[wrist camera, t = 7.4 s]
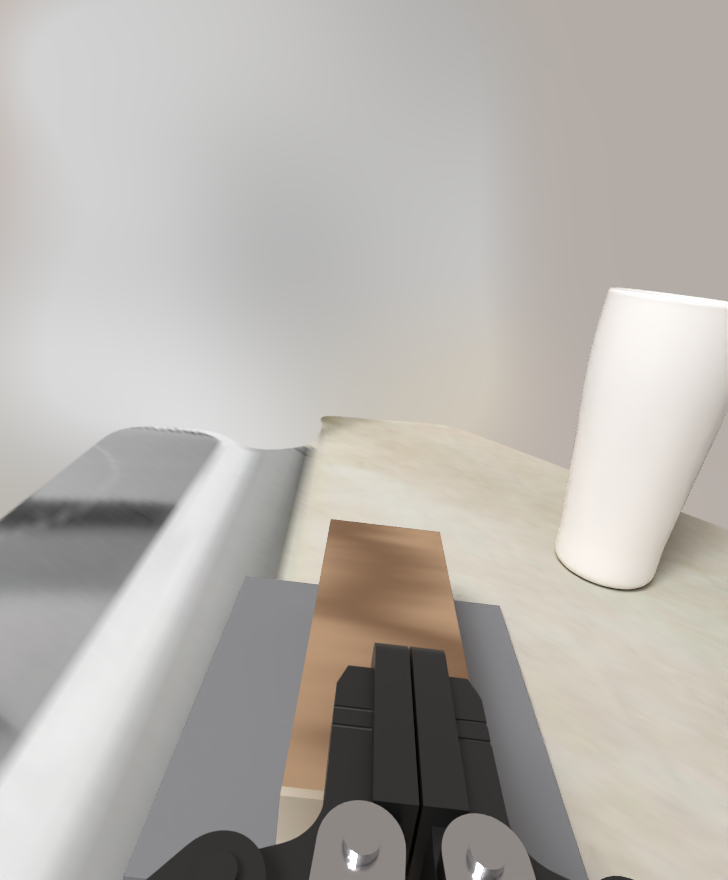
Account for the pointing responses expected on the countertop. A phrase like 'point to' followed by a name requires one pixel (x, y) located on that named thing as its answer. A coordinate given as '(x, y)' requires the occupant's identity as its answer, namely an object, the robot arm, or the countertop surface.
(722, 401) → the drinking glass
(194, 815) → the mat
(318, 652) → the plain brown block
